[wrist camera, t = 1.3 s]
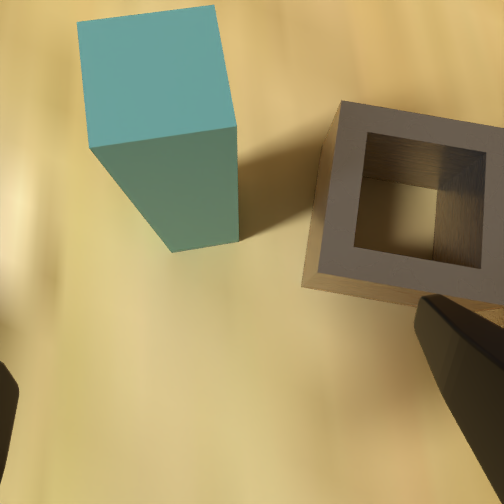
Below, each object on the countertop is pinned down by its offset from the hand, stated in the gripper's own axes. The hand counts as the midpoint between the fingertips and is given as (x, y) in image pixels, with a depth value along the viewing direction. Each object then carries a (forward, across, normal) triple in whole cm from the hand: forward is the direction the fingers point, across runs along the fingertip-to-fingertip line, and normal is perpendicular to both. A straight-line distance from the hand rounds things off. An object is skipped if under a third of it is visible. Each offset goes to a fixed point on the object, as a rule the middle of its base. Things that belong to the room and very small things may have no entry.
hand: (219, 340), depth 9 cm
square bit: (+15, +1, +5) cm, 16 cm away
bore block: (+13, -10, +7) cm, 18 cm away
